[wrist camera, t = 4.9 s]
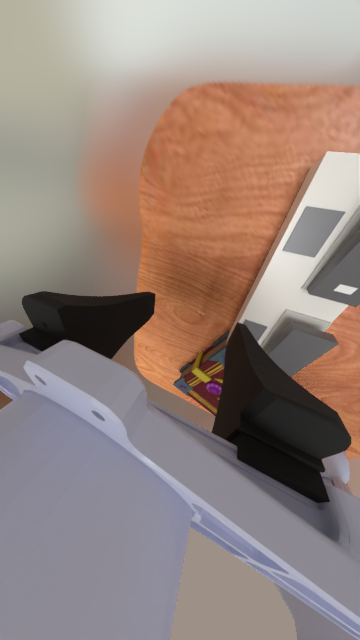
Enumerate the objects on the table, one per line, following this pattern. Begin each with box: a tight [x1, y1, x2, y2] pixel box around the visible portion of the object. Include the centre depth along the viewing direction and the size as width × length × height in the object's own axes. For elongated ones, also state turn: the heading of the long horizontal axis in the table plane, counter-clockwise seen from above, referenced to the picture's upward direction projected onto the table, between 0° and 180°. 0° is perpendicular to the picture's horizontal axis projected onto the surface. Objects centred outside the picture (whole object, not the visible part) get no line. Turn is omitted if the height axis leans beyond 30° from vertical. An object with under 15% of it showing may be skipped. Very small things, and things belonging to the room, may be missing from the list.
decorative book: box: [173, 332, 229, 416], centre depth 25 cm, size 11×16×5 cm
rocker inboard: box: [265, 322, 338, 376], centre depth 15 cm, size 4×8×1 cm, turn 169°
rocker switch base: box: [226, 151, 360, 351], centre depth 15 cm, size 8×20×3 cm, turn 169°
